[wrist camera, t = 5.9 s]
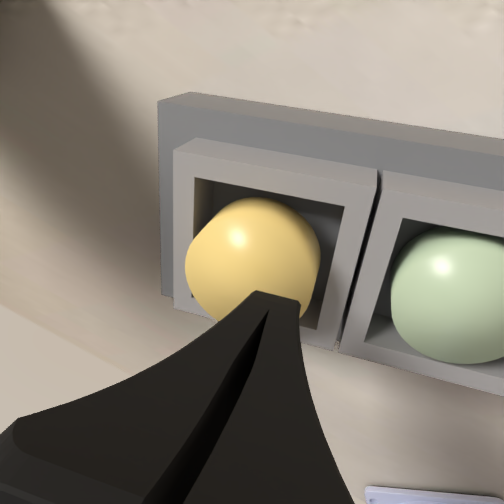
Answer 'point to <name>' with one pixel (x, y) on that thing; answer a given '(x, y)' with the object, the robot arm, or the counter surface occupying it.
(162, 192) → the button panel
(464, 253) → the sage button
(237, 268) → the yellow rounded piece
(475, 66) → the counter surface
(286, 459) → the robot arm
